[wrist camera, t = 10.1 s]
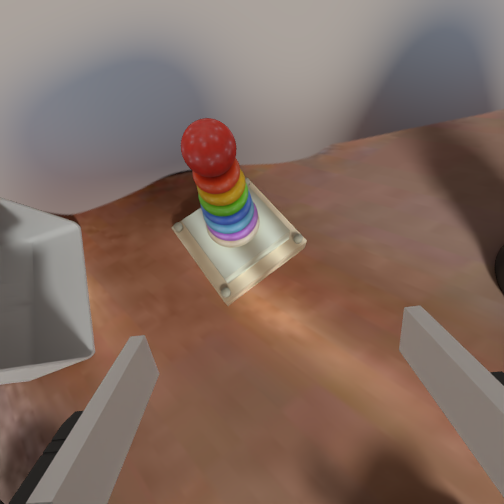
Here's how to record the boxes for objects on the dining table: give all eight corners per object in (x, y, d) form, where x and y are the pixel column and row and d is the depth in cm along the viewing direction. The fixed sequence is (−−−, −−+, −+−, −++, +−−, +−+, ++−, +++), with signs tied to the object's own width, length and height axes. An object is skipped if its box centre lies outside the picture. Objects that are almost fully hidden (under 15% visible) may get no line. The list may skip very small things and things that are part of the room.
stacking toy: (201, 214, 40) (147, 108, 23) (248, 196, 41) (231, 79, 23) (218, 257, 37) (171, 174, 20) (268, 237, 38) (265, 138, 20)
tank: (-4, 252, 47) (-93, 220, 36) (80, 223, 48) (20, 182, 37) (-9, 397, 38) (-131, 416, 26) (96, 357, 39) (22, 359, 27)
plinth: (248, 187, 49) (245, 166, 43) (304, 247, 43) (309, 232, 38) (177, 235, 46) (164, 218, 40) (227, 306, 40) (221, 298, 35)
